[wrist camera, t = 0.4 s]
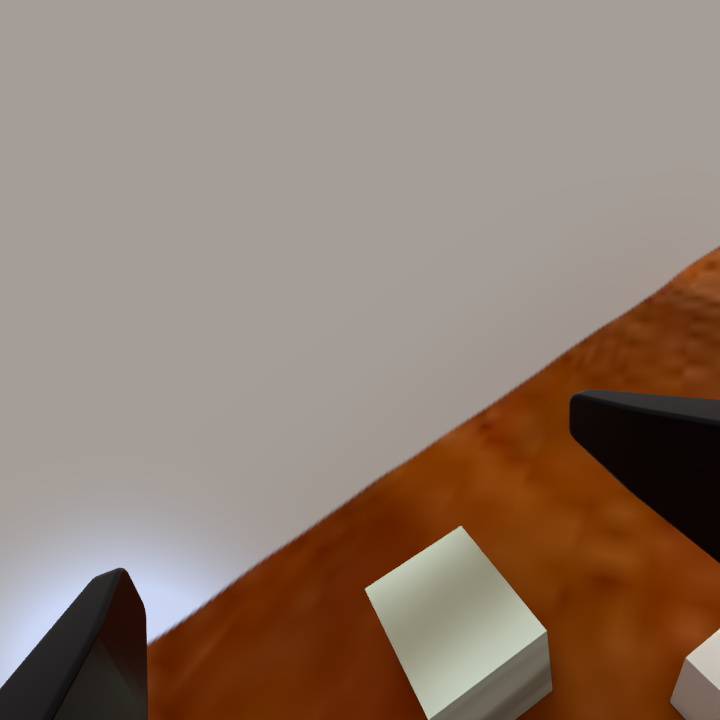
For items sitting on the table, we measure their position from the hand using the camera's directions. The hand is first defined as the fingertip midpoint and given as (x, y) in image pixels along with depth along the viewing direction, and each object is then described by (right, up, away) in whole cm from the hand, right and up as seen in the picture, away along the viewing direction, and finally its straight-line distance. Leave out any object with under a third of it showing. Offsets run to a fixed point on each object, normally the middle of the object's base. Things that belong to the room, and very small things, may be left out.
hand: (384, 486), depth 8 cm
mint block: (+5, -12, +12) cm, 17 cm away
